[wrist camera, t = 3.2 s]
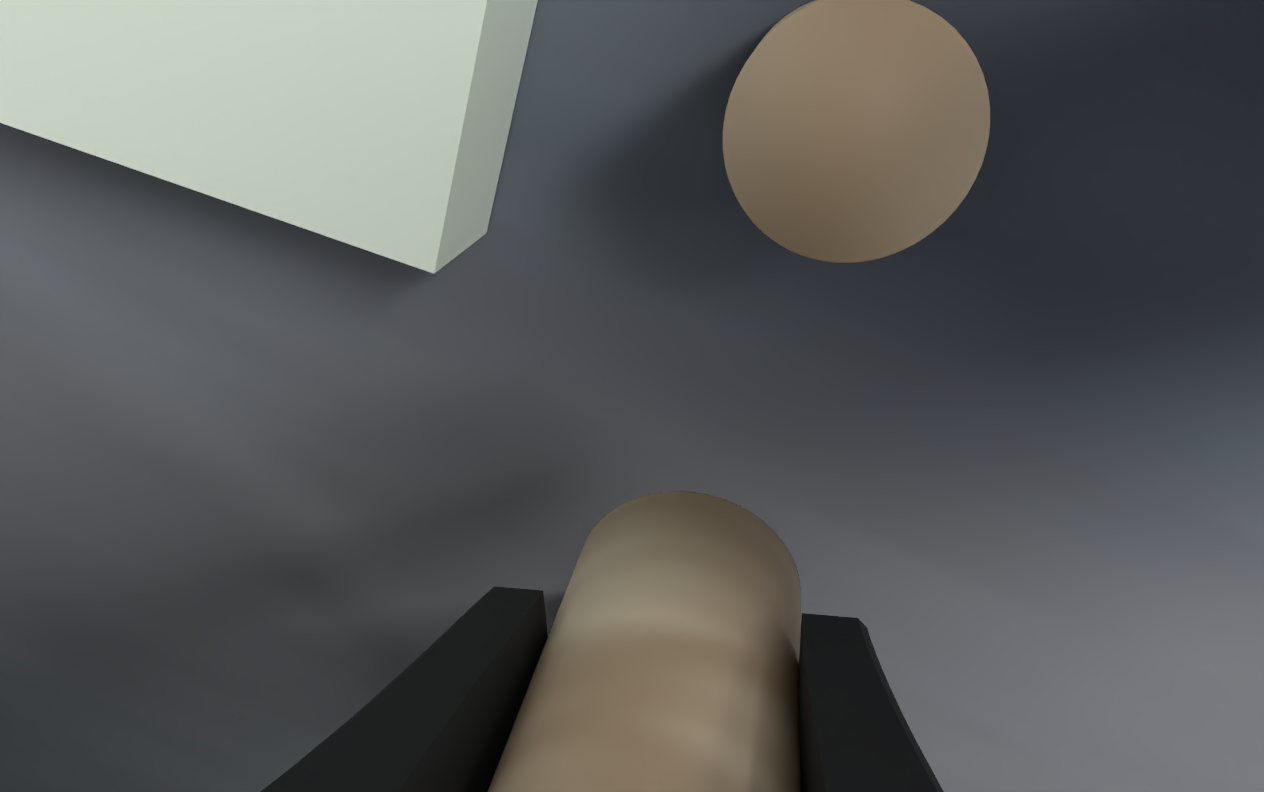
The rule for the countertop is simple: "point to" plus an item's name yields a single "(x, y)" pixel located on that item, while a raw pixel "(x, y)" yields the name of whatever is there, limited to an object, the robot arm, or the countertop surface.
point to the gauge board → (286, 105)
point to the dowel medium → (667, 659)
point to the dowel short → (856, 128)
